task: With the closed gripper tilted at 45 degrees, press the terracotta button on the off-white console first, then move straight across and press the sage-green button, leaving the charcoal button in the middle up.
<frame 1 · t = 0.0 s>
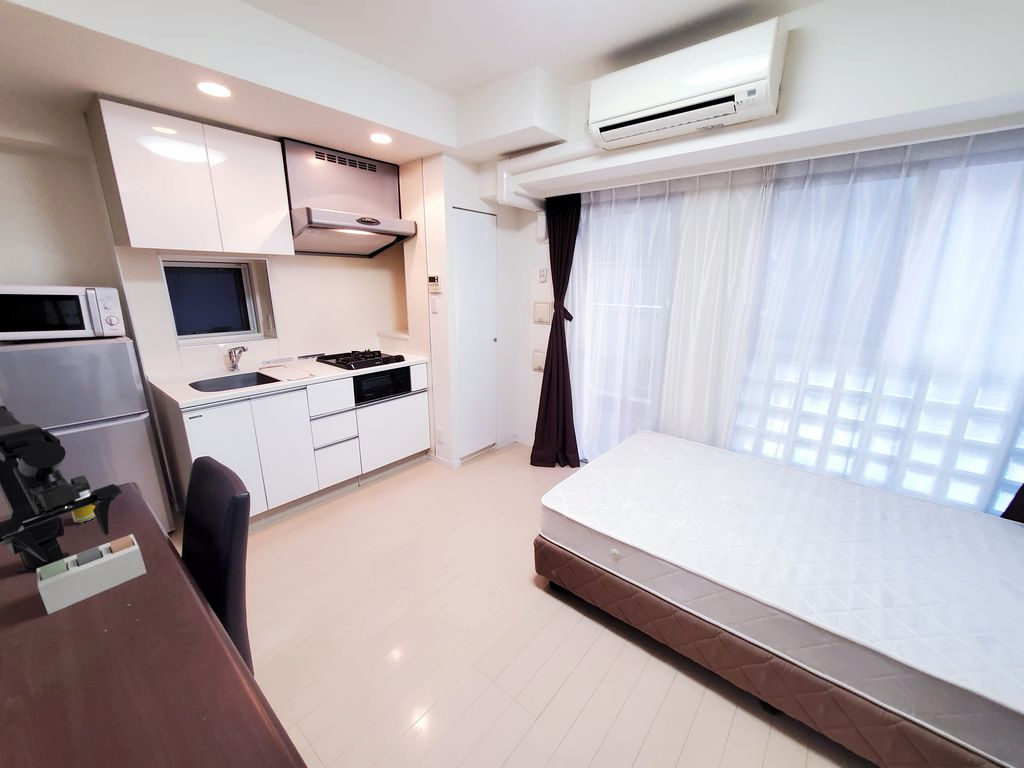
hand: (77, 547, 83), 15 cm above the table, tool tilted 35°, fingers open, 9 cm apart
charcoal button: (89, 558, 92), point 7 cm above the table, slide at 0.0 cm
supplement bottle: (87, 519, 120), on the table
sage-green button: (54, 571, 88), point 7 cm above the table, slide at 0.0 cm
terracotta button: (122, 546, 96), point 7 cm above the table, slide at 0.0 cm
button console: (98, 583, 94), on the table
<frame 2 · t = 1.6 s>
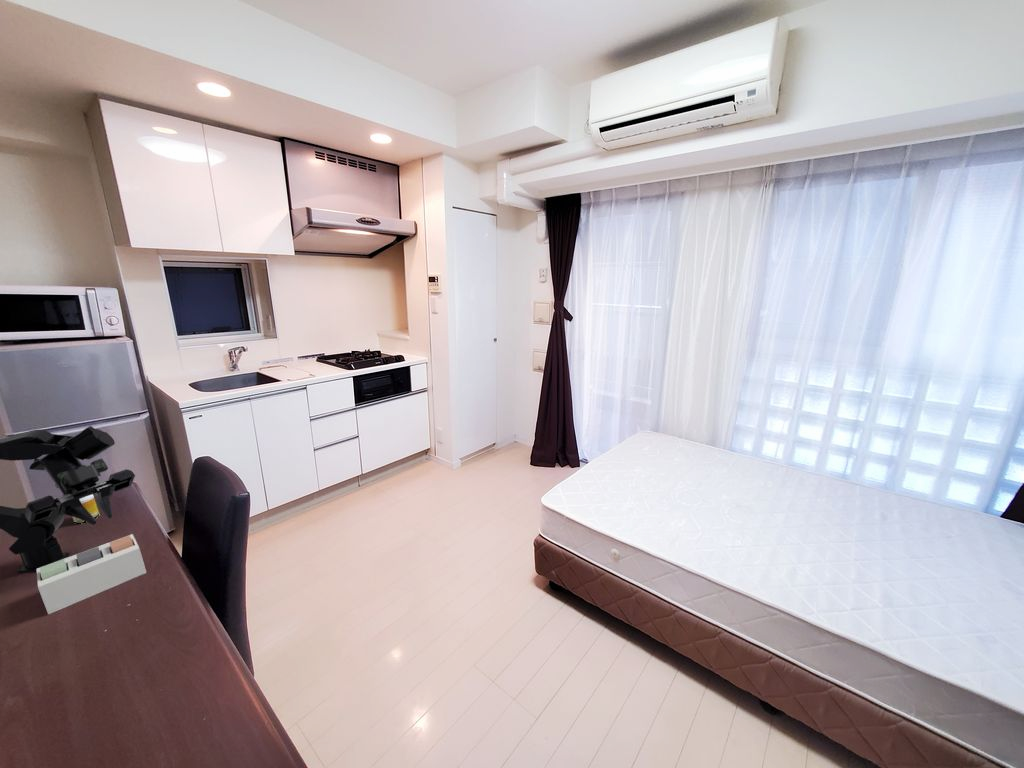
hand: (103, 520, 97), 13 cm above the table, tool tilted 45°, fingers open, 3 cm apart
nothing on the table moved.
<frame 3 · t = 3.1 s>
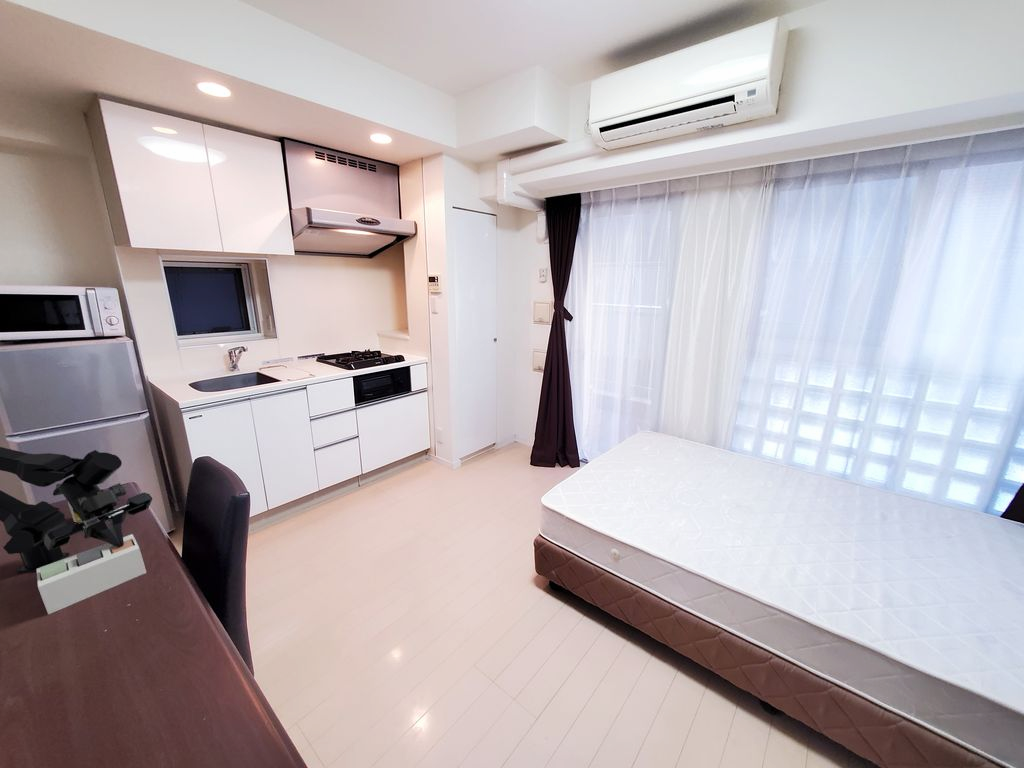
hand: (121, 546, 96), 7 cm above the table, tool tilted 45°, fingers closed, pressing on terracotta button
terracotta button: (123, 550, 96), point 6 cm above the table, slide at 1.4 cm, touching gripper
everything else where it was.
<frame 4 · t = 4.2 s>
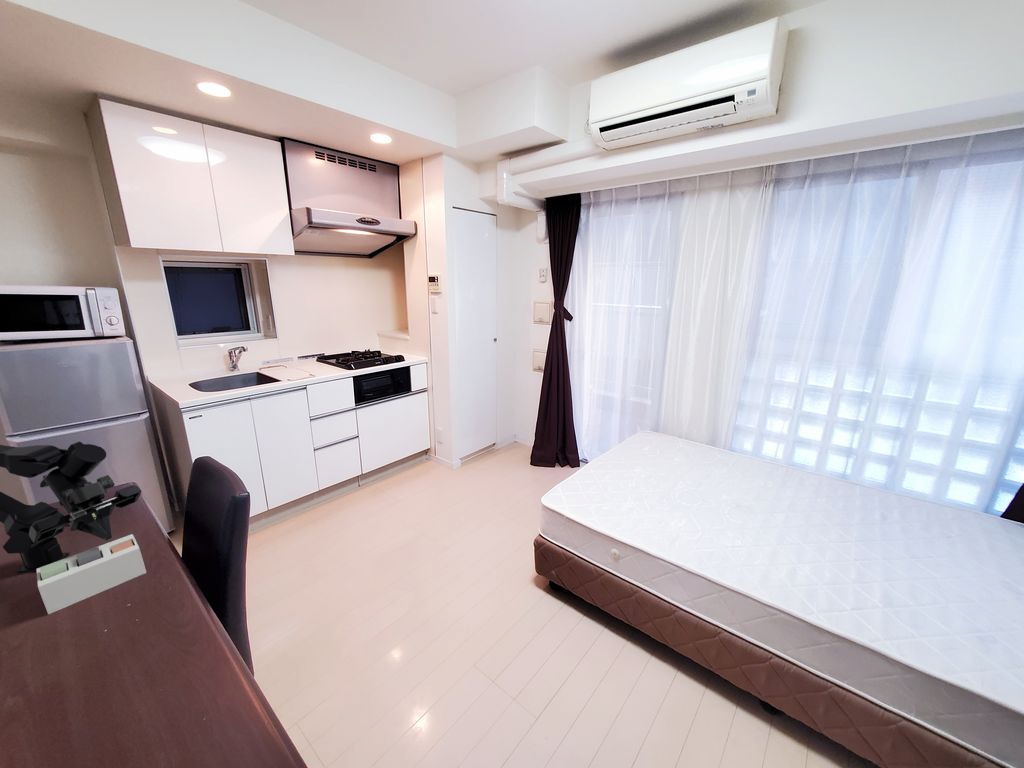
hand: (109, 538, 94), 10 cm above the table, tool tilted 45°, fingers closed
terracotta button: (123, 550, 96), point 6 cm above the table, slide at 1.4 cm
everything else where it was.
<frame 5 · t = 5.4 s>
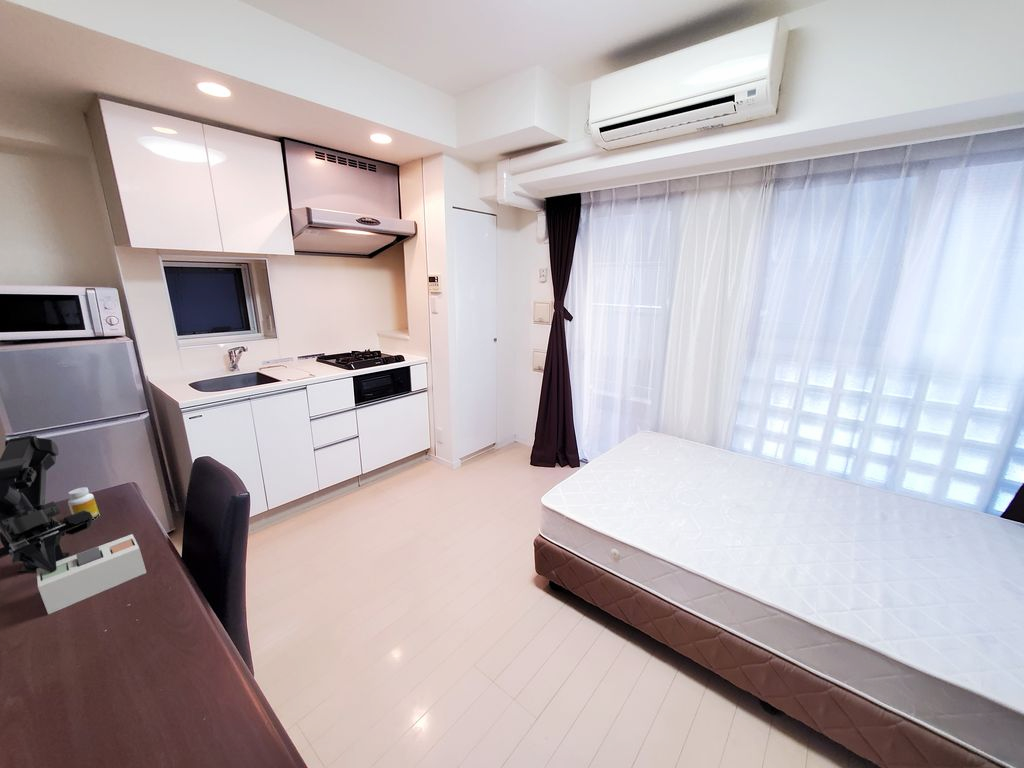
hand: (54, 570, 88), 7 cm above the table, tool tilted 45°, fingers closed, pressing on sage-green button
sage-green button: (56, 576, 88), point 6 cm above the table, slide at 1.3 cm, touching gripper
everything else where it was.
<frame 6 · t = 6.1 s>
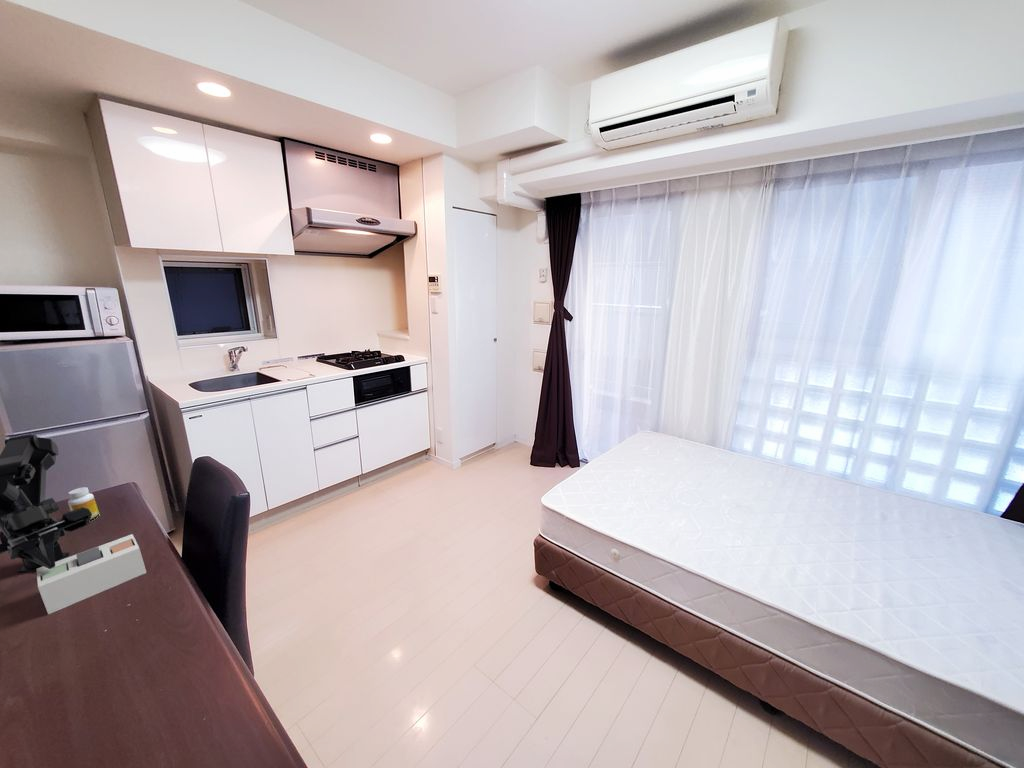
hand: (52, 567, 87), 8 cm above the table, tool tilted 45°, fingers closed
sage-green button: (56, 576, 88), point 6 cm above the table, slide at 1.4 cm
everything else where it was.
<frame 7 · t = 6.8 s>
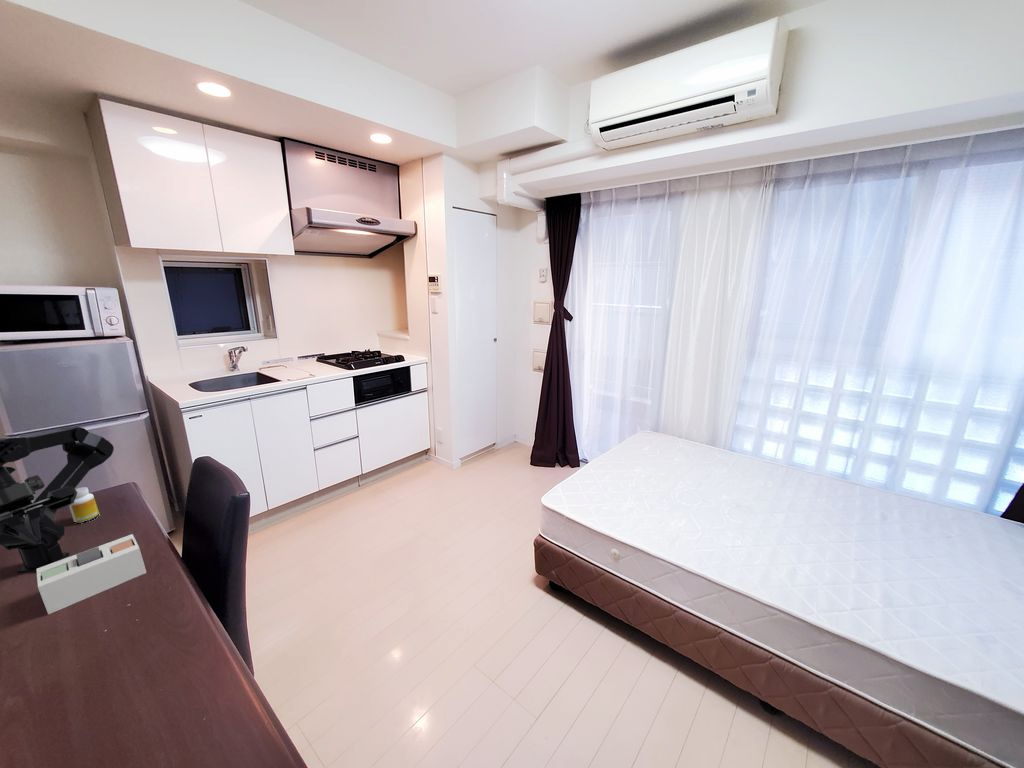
hand: (38, 542, 89), 13 cm above the table, tool tilted 45°, fingers closed
nothing on the table moved.
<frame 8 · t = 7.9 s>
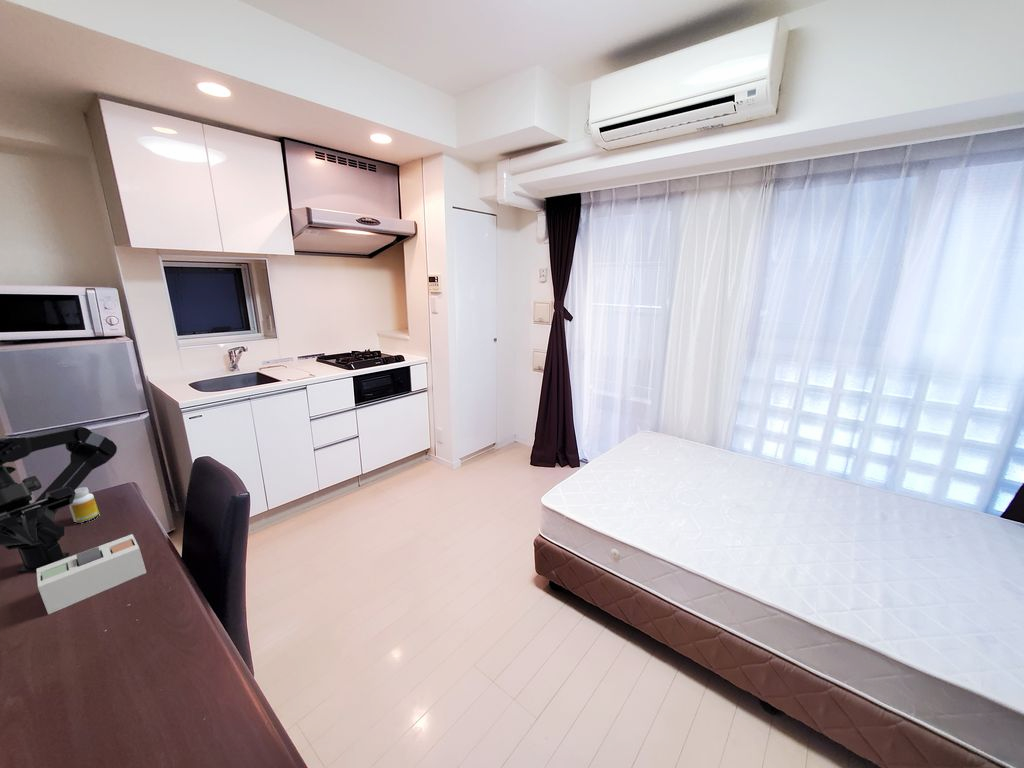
hand: (35, 543, 88), 13 cm above the table, tool tilted 45°, fingers closed
nothing on the table moved.
at the end: terracotta button slide at 1.4 cm; sage-green button slide at 1.4 cm; charcoal button slide at 0.0 cm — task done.
